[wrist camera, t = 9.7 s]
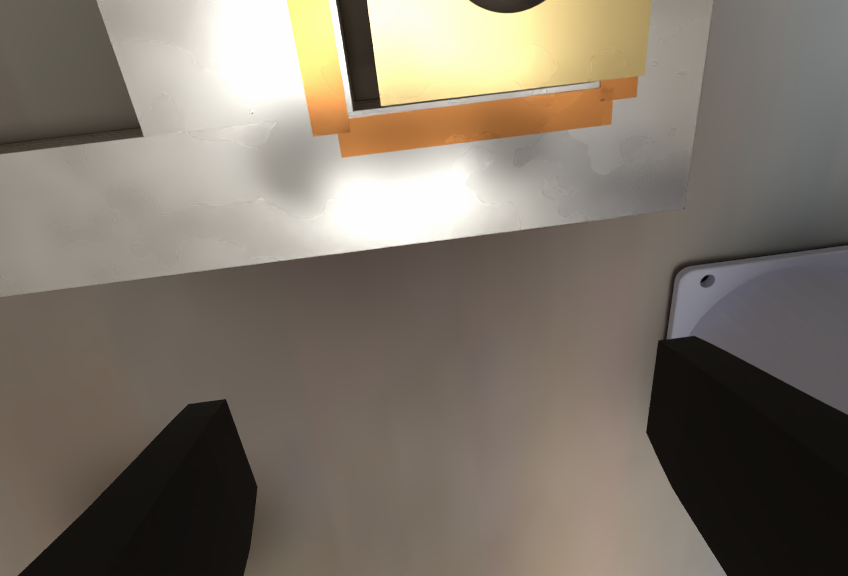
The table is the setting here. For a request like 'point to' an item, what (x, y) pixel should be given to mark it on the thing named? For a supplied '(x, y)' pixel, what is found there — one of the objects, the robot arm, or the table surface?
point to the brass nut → (503, 45)
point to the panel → (328, 150)
